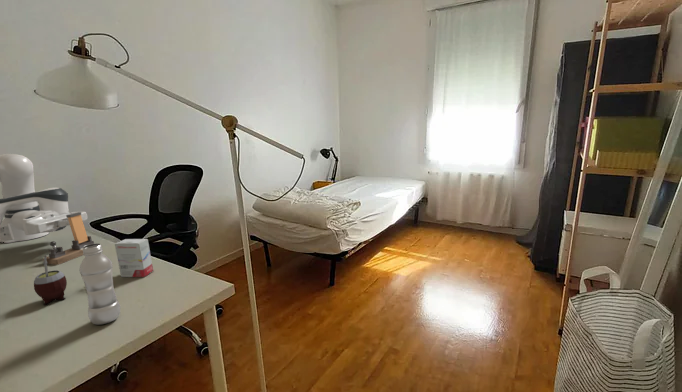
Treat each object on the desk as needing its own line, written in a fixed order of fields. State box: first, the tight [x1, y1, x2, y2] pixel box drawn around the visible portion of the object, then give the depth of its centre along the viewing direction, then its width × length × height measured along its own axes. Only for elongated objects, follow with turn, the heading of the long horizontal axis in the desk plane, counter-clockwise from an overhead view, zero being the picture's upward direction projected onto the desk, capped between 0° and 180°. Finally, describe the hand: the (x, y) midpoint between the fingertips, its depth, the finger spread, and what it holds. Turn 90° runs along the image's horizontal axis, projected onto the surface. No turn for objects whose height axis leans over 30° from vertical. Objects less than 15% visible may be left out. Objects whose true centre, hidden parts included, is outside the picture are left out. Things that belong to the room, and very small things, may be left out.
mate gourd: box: [33, 255, 68, 306], centre depth 94 cm, size 8×8×15 cm
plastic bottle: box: [79, 242, 121, 326], centre depth 82 cm, size 6×7×20 cm
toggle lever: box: [49, 240, 57, 251], centre depth 125 cm, size 2×2×4 cm
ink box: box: [114, 238, 154, 278], centre depth 110 cm, size 9×5×12 cm, turn 84°
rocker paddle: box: [66, 211, 88, 243], centre depth 133 cm, size 2×4×12 cm, turn 167°
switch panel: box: [42, 235, 95, 266], centre depth 130 cm, size 7×16×6 cm, turn 167°
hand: (73, 222), depth 133 cm, fingers closed, pressing on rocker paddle
